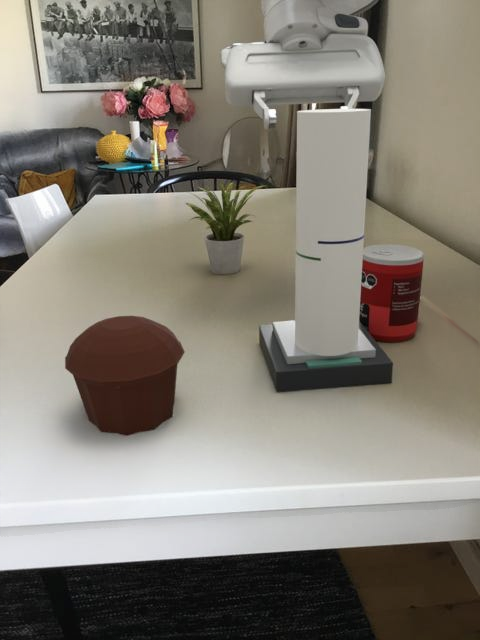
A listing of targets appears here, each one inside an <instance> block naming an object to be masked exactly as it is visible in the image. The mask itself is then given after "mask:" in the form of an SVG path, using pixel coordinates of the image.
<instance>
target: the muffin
mask: <svg viewBox="0 0 480 640" xmlns="http://www.w3.org/2000/svg"><path fill="white" fill-rule="evenodd" d="M184 354H185V349H184V347H183V345H182V343H181V341H180V340H179V339H178V338H177V336H176V335H175V333H174V332H173V331H172V330H171V329H170V328H169V327H167V326H165V325H164V324H161V323H159V322H157V321H155V320H152V319H150V318H147V317H145V316H139V315H138V316H137V315H117V316H113V317H108V318H105V319H102V320H99V321H98V322H95V323H93V324H92V325H89V326H88V327H87V328H86V329H85V330H83V331H82V332H81V333H80V334H79V335H78V336H77V337H76V338H75V339H74V340H73V341H72V343H71V344H70V346H69V348H68V351H67V353H66V356H65V357H64V368H65V370H66V371H68V373H70V374H71V375H72V376H73V379H74V382H75V385H76V387H77V391H78V393H79V396H80V400H81V402H82V405H83V408H84V411H85V414H86V416H87V420H88V421H89V422H90V423H92V425H94V426H95V427H96V428H97V429H98V430H99V432H100V433H105V434H106V433H107V434H116V435H121V436H126V437H128V436H131V435H135V434H139V433H143V432H148V431H153V430H156V429H157V428H158V427H159V426H160V425H162V424H163V423H164V422H166V421H168V420H170V419H171V418H173V414H174V405H175V399H176V387H177V375H178V365H179V363H180V361H181V359H182V357H183V356H184Z"/></svg>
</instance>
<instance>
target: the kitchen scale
mask: <svg viewBox="0 0 480 640" xmlns="http://www.w3.org/2000/svg"><path fill="white" fill-rule="evenodd" d="M258 336H259V337H258V338H259V340H258V341H259V346H260V349H261V351H262V354H263V357H264V361H265V363H266V366H267V369H268V371H269V375H270V378H271V380H272V383H273V386H274V390H275V392H276V393H282V392H294V391H306V390H307V391H308V390H317V389H318V390H319V389H331V388H343V387H355V386H356V387H357V386H367V385H378V384H379V385H380V384H391V383H392V381H393V370H394V369H393V368H394V362H393V361H392V359H391V358H390V356H388V354H387V353H386V352H385V350H383V348H382V347H381V346H380V345H379V343H378V342H377V340H374V338H373V337H372V336H371V335H370V334H369V332H368V331H367V330H366V329H365V327H364V326H363V325H362V324H361V322H360V321H359V332H358V345H357V348H356V349H355V350H353V351H352V352H349V353H347V354H343V355H337V356H320V355H314V354H310V353H307V352H304V351H302V350H301V349H299V348H298V347H297V346H296V344H295V319H294V320H281V321H272V324H261V325H258Z"/></svg>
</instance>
